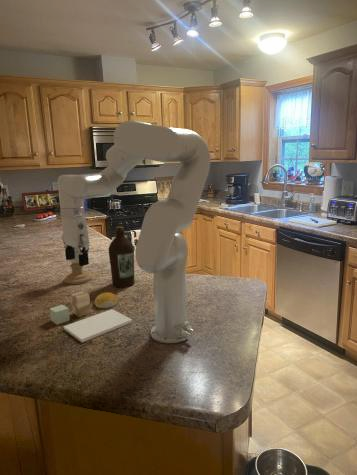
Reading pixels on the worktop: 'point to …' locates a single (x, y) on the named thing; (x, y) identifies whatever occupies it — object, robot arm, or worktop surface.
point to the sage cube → (59, 314)
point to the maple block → (81, 303)
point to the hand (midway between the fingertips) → (77, 262)
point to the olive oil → (121, 260)
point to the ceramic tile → (97, 325)
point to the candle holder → (77, 271)
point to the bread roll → (105, 300)
